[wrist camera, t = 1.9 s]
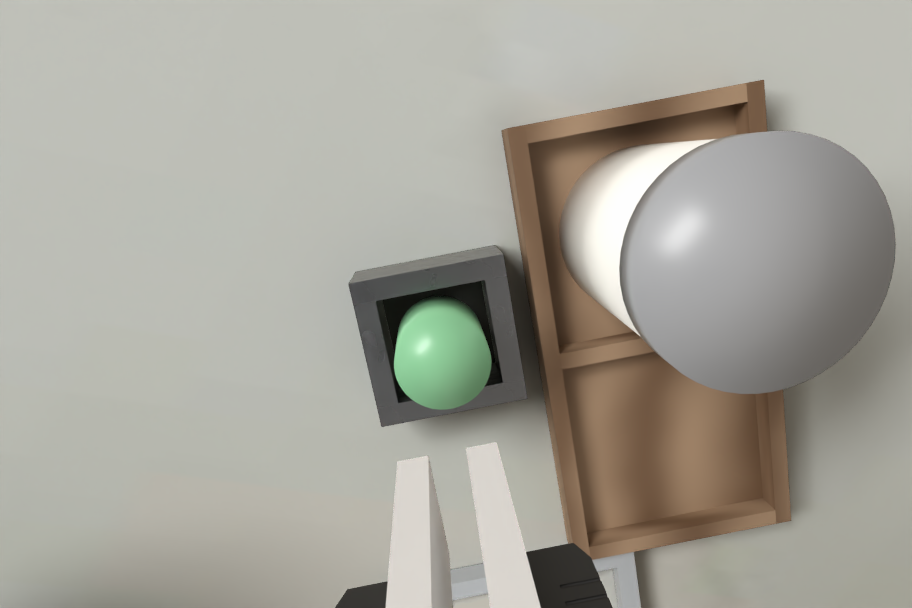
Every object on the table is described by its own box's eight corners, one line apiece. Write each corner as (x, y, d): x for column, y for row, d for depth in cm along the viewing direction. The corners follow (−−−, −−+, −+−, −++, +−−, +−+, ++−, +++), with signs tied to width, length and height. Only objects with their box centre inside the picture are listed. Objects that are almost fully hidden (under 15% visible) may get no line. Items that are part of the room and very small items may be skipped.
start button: (406, 383, 29) (404, 417, 25) (389, 304, 28) (384, 327, 24) (488, 367, 29) (498, 399, 25) (473, 288, 28) (482, 308, 25)
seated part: (569, 326, 30) (649, 416, 20) (545, 160, 28) (619, 159, 18) (730, 295, 30) (897, 367, 20) (716, 127, 29) (893, 107, 18)
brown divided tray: (567, 540, 34) (576, 563, 32) (501, 130, 29) (507, 128, 27) (770, 500, 34) (791, 520, 32) (740, 85, 29) (763, 79, 27)
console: (385, 402, 32) (381, 427, 29) (355, 271, 30) (348, 283, 27) (517, 376, 32) (527, 398, 29) (495, 245, 30) (502, 254, 27)
